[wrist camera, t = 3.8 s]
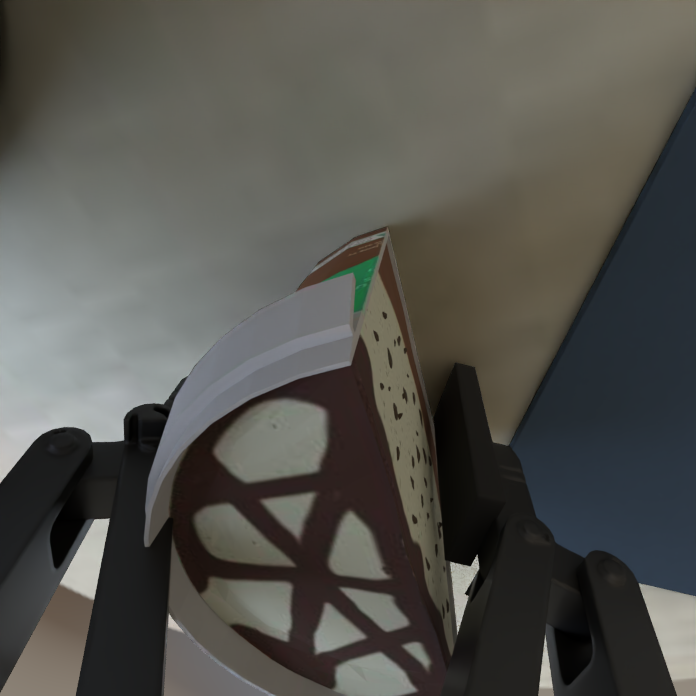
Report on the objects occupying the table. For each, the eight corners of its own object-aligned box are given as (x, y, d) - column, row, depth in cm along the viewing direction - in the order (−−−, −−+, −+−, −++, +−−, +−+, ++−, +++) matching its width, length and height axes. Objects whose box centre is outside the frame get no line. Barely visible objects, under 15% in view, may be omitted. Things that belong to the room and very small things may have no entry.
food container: (202, 226, 16) (-23, 398, 8) (377, 180, 15) (339, 327, 6) (310, 484, 22) (248, 748, 13) (443, 467, 21) (471, 750, 12)
